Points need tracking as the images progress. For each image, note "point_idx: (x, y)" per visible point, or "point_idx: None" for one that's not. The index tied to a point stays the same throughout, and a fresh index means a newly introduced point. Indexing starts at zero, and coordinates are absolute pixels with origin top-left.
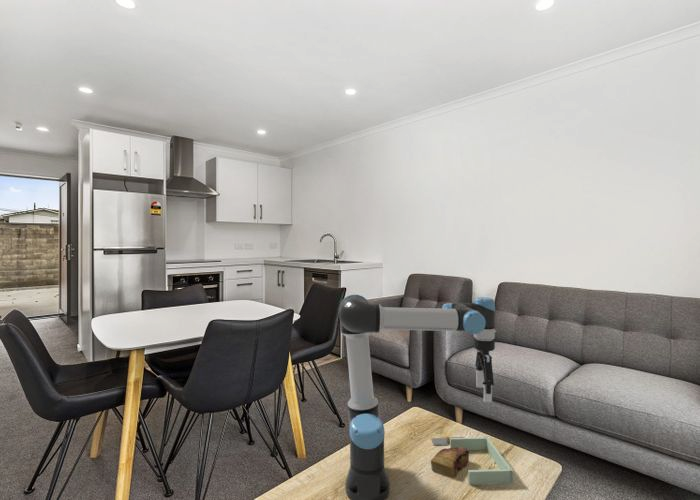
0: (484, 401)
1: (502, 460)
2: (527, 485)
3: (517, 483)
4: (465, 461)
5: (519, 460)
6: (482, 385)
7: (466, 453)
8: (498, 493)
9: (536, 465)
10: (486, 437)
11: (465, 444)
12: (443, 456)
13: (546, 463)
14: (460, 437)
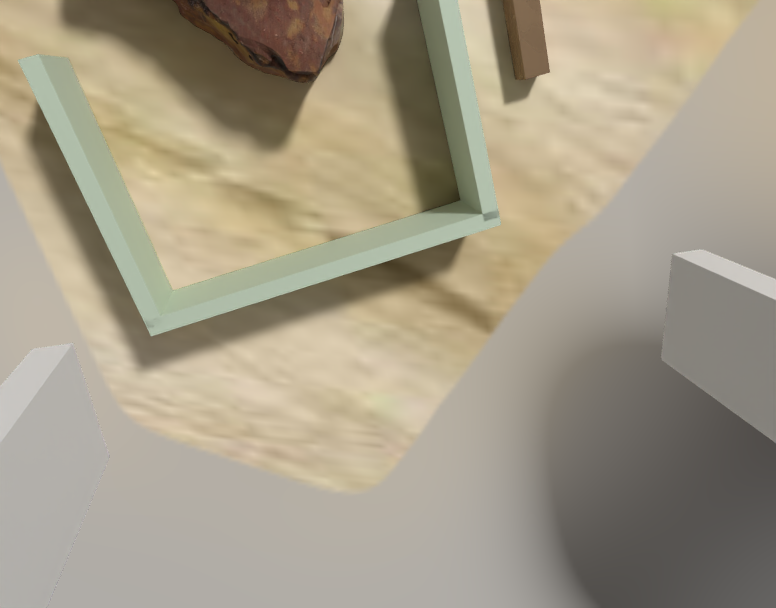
0: (34, 358)
1: (246, 288)
2: (174, 370)
3: None
4: (241, 53)
5: (388, 358)
6: (685, 355)
7: (265, 60)
8: (39, 226)
9: (362, 426)
10: (495, 217)
11: (442, 69)
12: None
13: (390, 466)
14: (540, 41)
